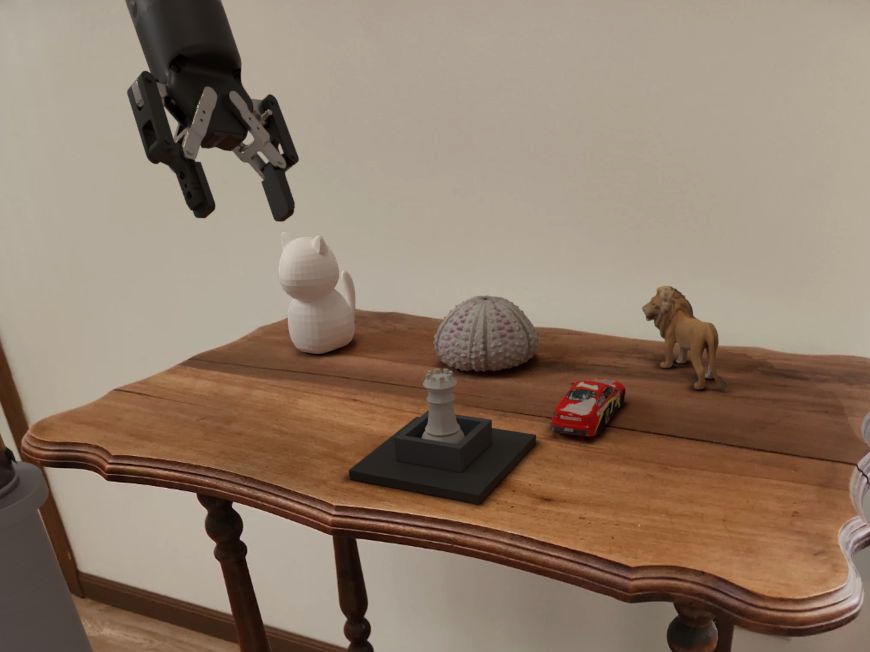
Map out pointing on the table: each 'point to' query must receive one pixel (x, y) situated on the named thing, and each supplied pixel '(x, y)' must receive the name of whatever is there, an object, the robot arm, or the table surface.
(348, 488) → the table surface
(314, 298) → the cat figurine
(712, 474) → the table surface
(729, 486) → the table surface
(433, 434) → the rook chess piece
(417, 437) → the socket pad
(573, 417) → the race car
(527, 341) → the sea urchin shell
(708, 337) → the lion figurine
